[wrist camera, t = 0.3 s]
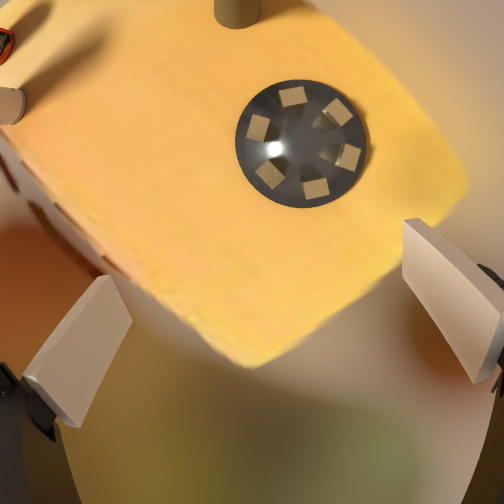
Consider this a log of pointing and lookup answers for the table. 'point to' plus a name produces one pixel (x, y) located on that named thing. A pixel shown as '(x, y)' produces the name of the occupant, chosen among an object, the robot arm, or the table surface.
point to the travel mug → (11, 105)
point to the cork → (237, 13)
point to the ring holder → (300, 143)
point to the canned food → (5, 44)
